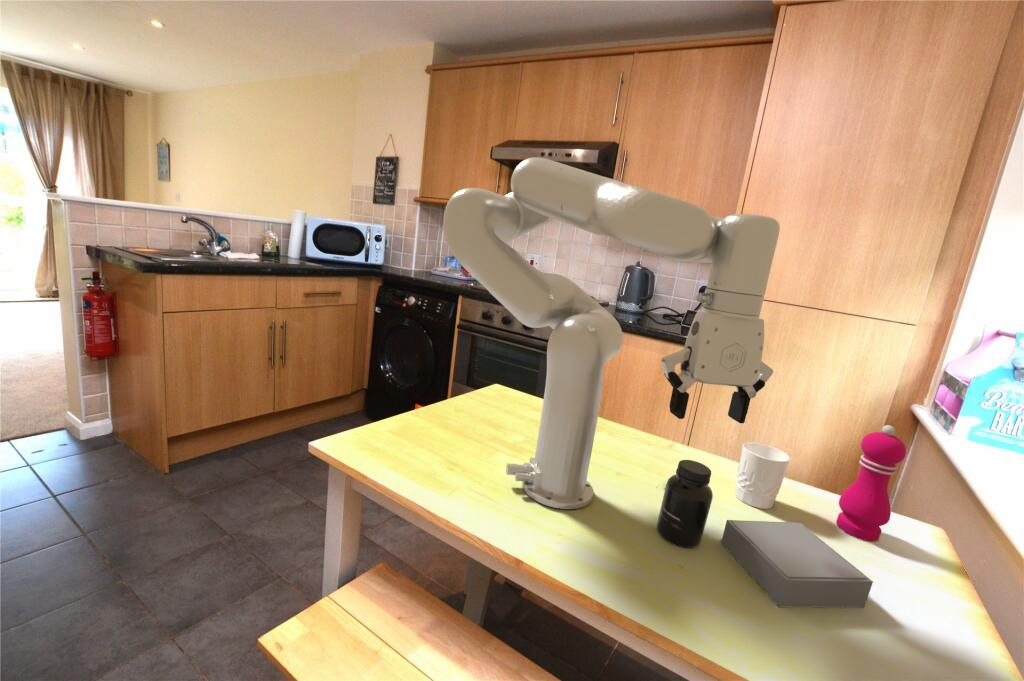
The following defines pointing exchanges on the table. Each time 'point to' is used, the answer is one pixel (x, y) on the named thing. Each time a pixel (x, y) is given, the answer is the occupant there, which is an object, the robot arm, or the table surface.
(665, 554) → the table surface
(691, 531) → the supplement bottle
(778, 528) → the slate riser
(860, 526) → the pepper mill
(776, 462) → the white cup
